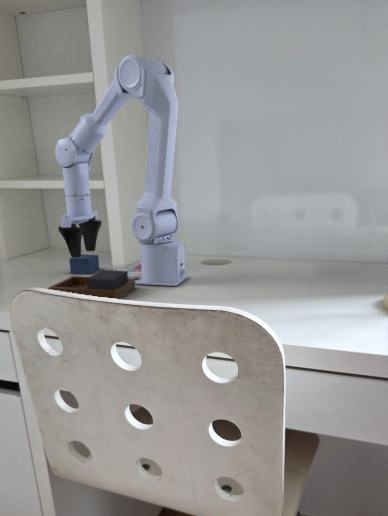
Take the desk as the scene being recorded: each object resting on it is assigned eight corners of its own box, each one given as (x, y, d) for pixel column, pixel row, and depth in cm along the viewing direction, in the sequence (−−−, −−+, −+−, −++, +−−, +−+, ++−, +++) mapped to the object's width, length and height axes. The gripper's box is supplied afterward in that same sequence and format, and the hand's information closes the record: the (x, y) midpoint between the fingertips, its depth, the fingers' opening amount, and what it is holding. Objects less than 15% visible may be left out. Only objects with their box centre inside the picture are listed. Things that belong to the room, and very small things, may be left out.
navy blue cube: (99, 269, 129) (98, 254, 128) (89, 274, 124) (88, 259, 123) (81, 268, 131) (79, 254, 129) (70, 273, 126) (69, 258, 124)
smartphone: (120, 275, 119) (142, 261, 132) (120, 279, 119) (142, 265, 133) (151, 275, 117) (170, 261, 131) (151, 280, 118) (170, 265, 131)
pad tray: (135, 288, 111) (134, 278, 110) (116, 301, 102) (115, 291, 101) (73, 285, 115) (72, 275, 114) (49, 297, 106) (48, 287, 105)
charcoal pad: (128, 287, 110) (127, 271, 109) (113, 296, 103) (112, 279, 102) (104, 285, 111) (102, 270, 110) (87, 295, 105) (86, 278, 103)
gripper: (77, 192, 129) (82, 247, 134) (45, 198, 116) (53, 259, 121) (103, 192, 127) (107, 248, 132) (74, 198, 114) (80, 260, 119)
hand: (83, 253), depth 126 cm, fingers open, 7 cm apart
